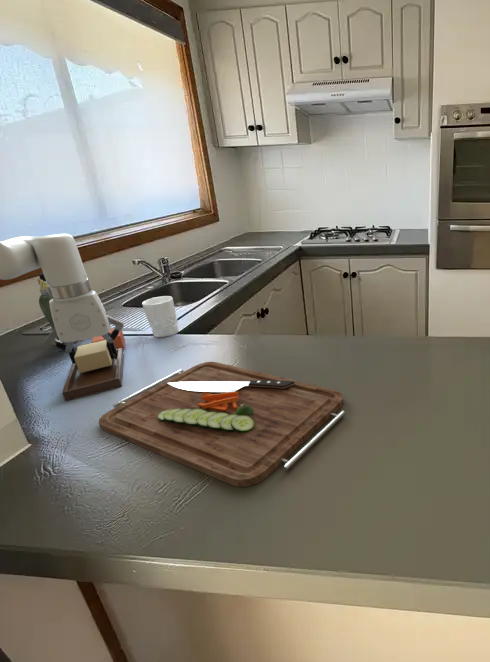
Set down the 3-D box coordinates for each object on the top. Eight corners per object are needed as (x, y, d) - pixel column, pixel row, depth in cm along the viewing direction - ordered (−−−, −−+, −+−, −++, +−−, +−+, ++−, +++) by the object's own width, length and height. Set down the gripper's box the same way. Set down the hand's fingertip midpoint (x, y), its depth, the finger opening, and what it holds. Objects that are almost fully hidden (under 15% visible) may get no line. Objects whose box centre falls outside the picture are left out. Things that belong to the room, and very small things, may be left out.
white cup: (161, 340, 117) (152, 306, 114) (145, 335, 122) (136, 303, 118) (186, 330, 124) (178, 297, 120) (170, 326, 128) (162, 294, 124)
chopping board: (85, 423, 80) (80, 409, 79) (200, 362, 102) (197, 351, 100) (262, 497, 59) (258, 480, 58) (360, 401, 80) (359, 387, 79)
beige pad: (79, 373, 97) (73, 357, 96) (83, 360, 104) (77, 346, 103) (111, 365, 100) (106, 350, 99) (113, 353, 107) (108, 339, 105)
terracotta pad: (96, 356, 110) (91, 342, 109) (98, 345, 117) (94, 332, 116) (124, 349, 113) (119, 336, 112) (125, 340, 120) (120, 326, 118)
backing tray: (65, 401, 89) (61, 392, 88) (76, 366, 105) (73, 358, 104) (121, 386, 93) (119, 378, 92) (124, 355, 110) (121, 347, 109)
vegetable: (78, 348, 116) (52, 278, 109) (59, 354, 113) (32, 282, 106) (74, 344, 119) (48, 276, 112) (56, 350, 116) (28, 280, 109)
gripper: (20, 302, 89) (51, 377, 95) (113, 286, 96) (136, 356, 102) (28, 294, 95) (56, 365, 102) (115, 279, 102) (136, 346, 109)
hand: (96, 360), depth 102 cm, fingers closed on beige pad, 6 cm apart
